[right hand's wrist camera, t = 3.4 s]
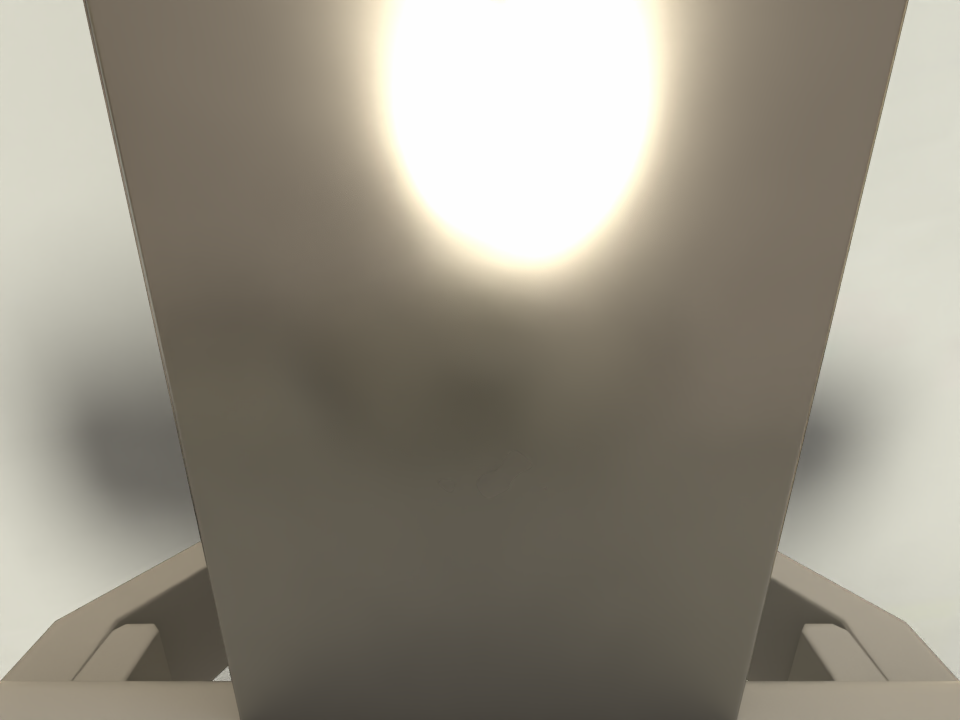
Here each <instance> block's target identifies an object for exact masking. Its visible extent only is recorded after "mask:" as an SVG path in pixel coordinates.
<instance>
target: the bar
mask: <svg viewBox="0 0 960 720" xmlns="http://www.w3.org/2000/svg"><path fill="white" fill-rule="evenodd" d="M908 1H909V0H83V2H84V7H85V12H86V16H87V21H88V25H89V30H90V35H91V39H92V44H93V48H94V53H95V57H96V62H97V67H98V71H99V76H100V80H101V85H102V89H103V94H104V99H105V103H106V108H107V112H108V117H109V122H110V126H111V131H112V135H113V140H114V144H115V149H116V154H117V158H118V163H119V167H120V172H121V176H122V181H123V186H124V190H125V195H126V199H127V204H128V209H129V213H130V218H131V222H132V227H133V231H134V236H135V241H136V245H137V250H138V254H139V259H140V263H141V268H142V273H143V277H144V282H145V286H146V291H147V295H148V300H149V305H150V309H151V314H152V318H153V323H154V328H155V332H156V337H157V341H158V346H159V350H160V355H161V360H162V364H163V369H164V373H165V378H166V382H167V387H168V392H169V396H170V401H171V405H172V410H173V415H174V419H175V424H176V428H177V433H178V437H179V442H180V447H181V451H182V456H183V460H184V465H185V469H186V474H187V479H188V483H189V488H190V492H191V497H192V501H193V506H194V511H195V515H196V520H197V524H198V529H199V534H200V538H201V543H202V547H203V552H204V556H205V561H206V566H207V570H208V575H209V579H210V584H211V588H212V593H213V598H214V602H215V607H216V611H217V616H218V621H219V625H220V630H221V634H222V639H223V643H224V648H225V653H226V657H227V662H228V666H229V671H230V675H231V680H232V685H233V689H234V694H235V698H236V703H237V707H238V712H239V717H240V720H737V717H738V713H739V709H740V705H741V701H742V696H743V692H744V688H745V684H746V680H747V676H748V671H749V667H750V663H751V659H752V655H753V650H754V646H755V642H756V638H757V634H758V629H759V625H760V621H761V617H762V613H763V608H764V604H765V600H766V596H767V592H768V588H769V583H770V579H771V575H772V571H773V567H774V562H775V558H776V554H777V550H778V546H779V541H780V537H781V533H782V529H783V525H784V521H785V516H786V512H787V508H788V504H789V500H790V495H791V491H792V487H793V483H794V479H795V474H796V470H797V466H798V462H799V458H800V453H801V449H802V445H803V441H804V437H805V433H806V428H807V424H808V420H809V416H810V412H811V407H812V403H813V399H814V395H815V391H816V386H817V382H818V378H819V374H820V370H821V365H822V361H823V357H824V353H825V349H826V345H827V340H828V336H829V332H830V328H831V324H832V319H833V315H834V311H835V307H836V303H837V298H838V294H839V290H840V286H841V282H842V277H843V273H844V269H845V265H846V261H847V257H848V252H849V248H850V244H851V240H852V236H853V231H854V227H855V223H856V219H857V215H858V210H859V206H860V202H861V198H862V194H863V189H864V185H865V181H866V177H867V173H868V169H869V164H870V160H871V156H872V152H873V148H874V143H875V139H876V135H877V131H878V127H879V122H880V118H881V114H882V110H883V106H884V101H885V97H886V93H887V89H888V85H889V81H890V76H891V72H892V68H893V64H894V60H895V55H896V51H897V47H898V43H899V39H900V34H901V30H902V26H903V22H904V18H905V13H906V9H907V5H908Z"/></svg>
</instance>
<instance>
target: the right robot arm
mask: <svg viewBox="0 0 960 720" xmlns="http://www.w3.org/2000/svg"><path fill="white" fill-rule="evenodd" d="M227 666H228V662H227V657H226V653H225V648H224V643H223V639H222V634H221V630H220V625H219V621H218V616H217V611H216V607H215V602H214V598H213V593H212V588H211V584H210V579H209V575H208V570H207V566H206V561H205V556H204V552H203V547H202V543H201V542H198V543H196V544H195V545H193V546H191V547H189V548H187V549H186V550H184V551H182V552H180V553H178V554H176V555H175V556H173V557H171V558H169V559H167V560H166V561H164V562H162V563H160V564H158V565H156V566H155V567H153V568H151V569H149V570H147V571H146V572H144V573H142V574H140V575H138V576H136V577H135V578H133V579H131V580H129V581H127V582H126V583H124V584H122V585H120V586H118V587H117V588H115V589H113V590H111V591H109V592H107V593H106V594H104V595H102V596H100V597H98V598H97V599H95V600H93V601H91V602H89V603H87V604H86V605H84V606H82V607H80V608H78V609H77V610H75V611H73V612H71V613H69V614H67V615H66V616H64V617H62V618H60V619H58V620H57V621H55V622H54V623H53V624H52V625H51V626H50V627H49V629H48V630H47V631H46V632H45V633H44V634H43V635H42V636H41V637H40V638H39V639H38V641H37V642H36V643H35V644H34V645H33V646H32V647H31V648H30V649H29V650H28V651H27V652H26V654H25V655H24V656H23V657H22V658H21V659H20V660H19V661H18V662H17V663H16V664H15V666H14V667H13V668H12V669H11V670H10V671H9V672H8V673H7V674H6V675H5V676H4V678H3V679H2V680H1V681H0V720H240V717H239V712H238V707H237V703H236V698H235V694H234V689H233V685H232V681H212V680H213V679H215V678H216V677H217V676H218V675H219V674H220V673H221V672H222V671H223V670H224V669H225V668H226V667H227ZM747 680H748V681H746V684H745V688H744V692H743V696H742V701H741V705H740V709H739V713H738V717H737V720H960V681H959V680H958V679H957V678H956V677H955V675H954V674H953V673H952V672H951V671H950V670H949V669H948V668H947V667H946V666H945V664H944V663H943V662H942V661H941V660H940V659H939V658H938V657H937V656H936V655H935V654H934V652H933V651H932V650H931V649H930V648H929V647H928V646H927V645H926V644H925V643H924V641H923V640H922V639H921V638H920V637H919V636H918V635H917V634H916V633H915V632H914V630H913V629H912V628H911V627H910V626H909V625H908V624H907V623H906V622H905V621H903V620H901V619H899V618H897V617H896V616H894V615H892V614H890V613H888V612H887V611H885V610H883V609H881V608H879V607H878V606H876V605H874V604H872V603H870V602H868V601H867V600H865V599H863V598H861V597H859V596H858V595H856V594H854V593H852V592H850V591H849V590H847V589H845V588H843V587H841V586H840V585H838V584H836V583H834V582H832V581H830V580H829V579H827V578H825V577H823V576H821V575H820V574H818V573H816V572H814V571H812V570H811V569H809V568H807V567H805V566H803V565H802V564H800V563H798V562H796V561H794V560H792V559H791V558H789V557H787V556H785V555H783V554H782V553H780V552H778V551H777V554H776V558H775V562H774V567H773V571H772V575H771V579H770V583H769V588H768V592H767V596H766V600H765V604H764V608H763V613H762V617H761V621H760V625H759V629H758V634H757V638H756V642H755V646H754V650H753V655H752V659H751V663H750V667H749V671H748V676H747Z"/></svg>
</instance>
